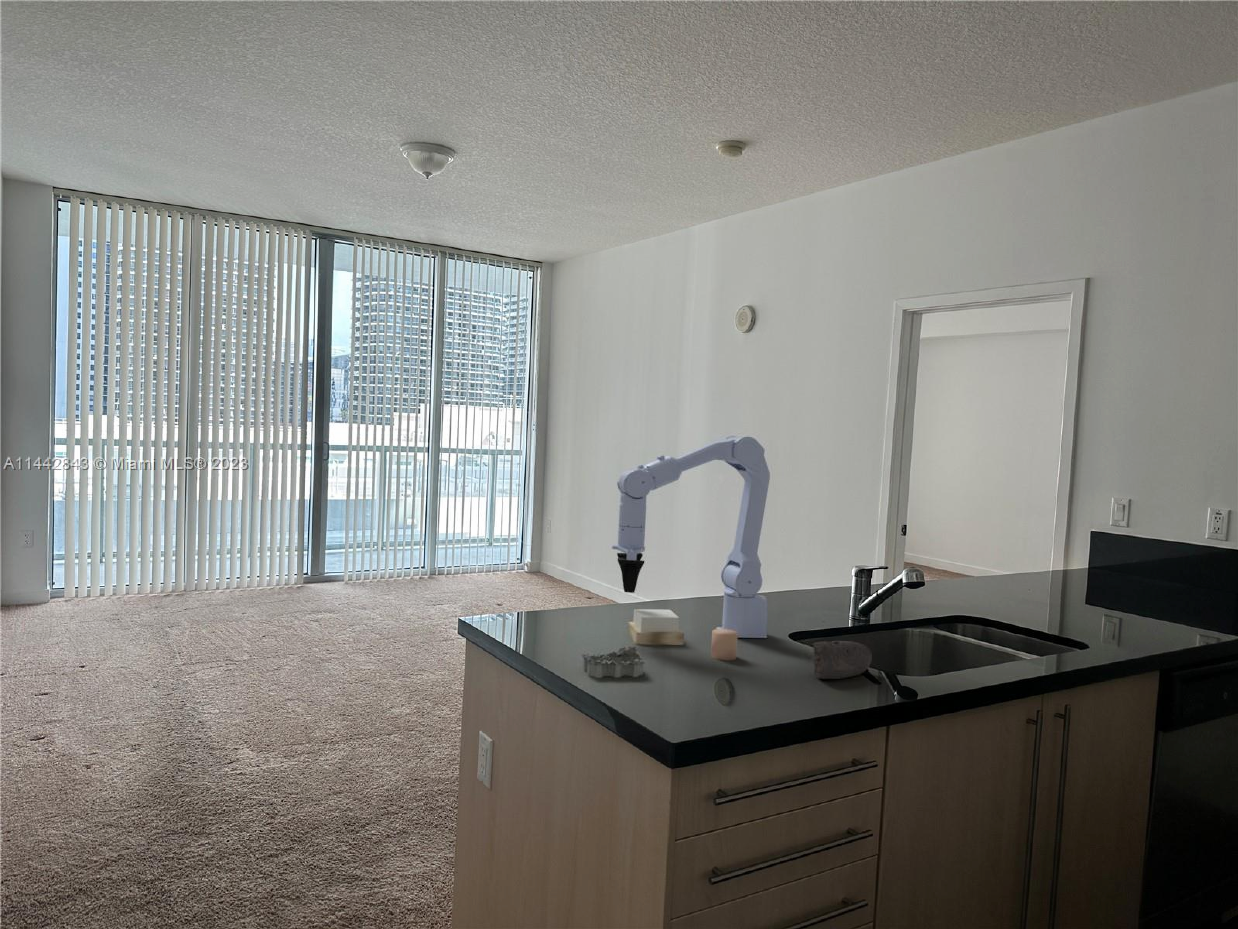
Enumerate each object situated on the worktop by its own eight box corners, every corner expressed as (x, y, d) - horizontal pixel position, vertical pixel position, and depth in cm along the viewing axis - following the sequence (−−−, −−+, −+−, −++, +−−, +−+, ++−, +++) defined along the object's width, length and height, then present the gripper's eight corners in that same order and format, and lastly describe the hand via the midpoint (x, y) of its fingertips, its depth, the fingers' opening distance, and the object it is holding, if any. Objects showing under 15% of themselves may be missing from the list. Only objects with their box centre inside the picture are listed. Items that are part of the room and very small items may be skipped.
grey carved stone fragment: (636, 667, 153) (638, 646, 153) (646, 679, 146) (647, 656, 146) (580, 667, 151) (581, 645, 151) (587, 679, 144) (588, 656, 144)
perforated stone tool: (860, 669, 160) (862, 634, 159) (881, 677, 155) (883, 640, 155) (801, 677, 152) (803, 639, 152) (820, 685, 148) (823, 646, 148)
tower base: (672, 635, 181) (673, 622, 181) (683, 647, 171) (683, 633, 171) (627, 635, 180) (628, 621, 179) (636, 647, 170) (636, 632, 170)
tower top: (669, 623, 180) (669, 609, 180) (678, 631, 172) (679, 617, 172) (633, 623, 178) (633, 609, 178) (640, 631, 171) (641, 617, 170)
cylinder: (731, 653, 166) (733, 629, 166) (739, 660, 161) (740, 635, 161) (707, 653, 165) (709, 628, 165) (714, 660, 161) (716, 634, 160)
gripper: (613, 521, 184) (609, 582, 184) (613, 528, 169) (610, 594, 170) (644, 523, 184) (641, 583, 184) (647, 530, 169) (644, 596, 170)
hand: (628, 589), depth 177 cm, fingers open, 7 cm apart
